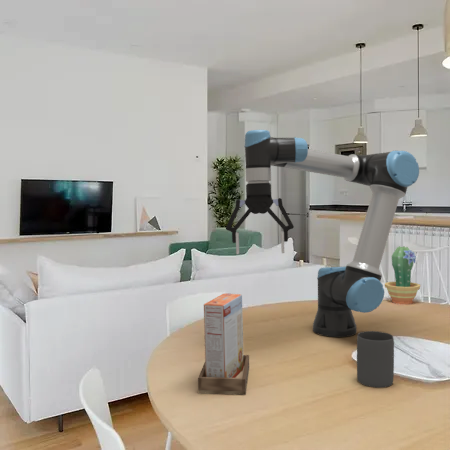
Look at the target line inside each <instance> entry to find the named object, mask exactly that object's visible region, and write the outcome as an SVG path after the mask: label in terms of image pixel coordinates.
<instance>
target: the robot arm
mask: <svg viewBox="0 0 450 450" xmlns="http://www.w3.org/2000/svg"><path fill="white" fill-rule="evenodd" d="M243 146H244V159H245V182H247V183H246V185H245V192H246V193H245V195H246V197H245V200H243V199H240V198H239V199H236V200H235V207H234V209H233V212H232V214H231V216H230V219H229V220H228V223H227V225H226V227H225V229H226V231H229V232H231V242H232V243H233V244H235V249H236V250H235V251H236V252H235V254H236V255H239V254H240V236H239V235H240V234H239V231H237V230H238V229H239V228H240V227H241V225H242V224H243V223H244V222H245V220H246V219H247V218H248V217H249V215H250V214H253V215H255V214H262V215H264V214H267V213H268V214H269V215H270V216H271V218H272V219H274V221H275V222H276V223H277V225H278V226H279V227H281V229H282V230H280V238H281V239H280V243H281V245H280V246H281V248H280V249H281V254H285V242H288V240H289V236H288V235H289V233H288V231H290V230H292V229H295V228H294V227H295V226H294V224H293V222H292V221H291V219H290V216H289V214H288V213H287V211H286V209H285V207H284V205H283V198H281V197H279V198H274V199H273V198H272V183H271V181H272V174H271V173H272V172H271V169H272V168H271V167H279V168H286V169H292V170H296V171H297V170H298V171H303V172H308V173H314V174H315V173H316V174H321V175H326V176H327V175H328V176H333V177H339V178H343V179H344V180H345V181H347V182H350V183H354V184H360V185H363V186H368V187H369V188H370V191H371V192H372V193H371V198H370V201H369V205H368V208H367V210H366V213H365V218H364V222H363V225H362V229H361V232H360V235H359V238H358V242H357V245H356V249H355V251H354V256H353V259H352V261H351V262H350V263H348V264H346V266H345V265H344V266H330V267H329V266H328V267H327V266H325V267H321V268H319V269H318V270H317V277H316V278H317V311H316V314H315V317H314V320H313V322H312V332H314V333H315V334H317V335H319V336H325V337H329V338H330V337H333V338H344V337H351V336H353V335H356V334H357V323H356V320H355V317H354V313H353V311H354V312H358V313H363V314H364V313H370V312H371V313H372V312H373V311H374V310H376V309H377V308H378V307H380V305H381V304H382V302H383V300H384V298H385V297H384V296H385V289H384V285H383V283H382V282H381V280H382V277H383V274H382V273H381V270H380V266H381V263H382V259H383V255H384V252H385V248H386V246H387V242H388V238H389V236H390V235H389V234H390V231H391V229H392V224H393V222H394V218H395V213H396V211H397V207H398V204H399V201H400V199H402V198H403V197H406V193H407V189H408V188H409V187H410V186H413V184H415V183H416V182H417V180H418V178H419V176H420V175H419V174H420V168H419V163H418V162H417V159H416V157H415V155H413V154H412V153H411V152H409V151H406V150H392V151H388V152H387V151H386V152H381V153H380V152H379V153H372V154H355V153H353V154H352V153H351V154H349V155H344V154H337V153H332V152H327V151H322V150H316V149H312V148H309V146H308V142H307V141H306V140H305V138H302V137H296V136H294V137H273V136H271V133H270V131H269V130H267V129H251V130H248V131H246V132H245V134H244V145H243ZM273 204H275V205H276V206H277V207H278V208H279V210H280V212H281V214H282V216H283V218H284V219H285V221H286V224H287V225H286V224H285V223H284V222H283V221H282V219H280V218H279V217H278V216H277V215H276V213H275V212H274V211H273V210H272V208H271V207H272V206H273ZM243 205H245V206H246V207H247V210H246V212H244V213H243V214H242V216H241V217H240V219H239V220H238V222H236V224H235V225H234V226H232V225H233V223H234V221H235V220H236V217H237V215H238V212H239V211H240V208H242V207H243Z"/></svg>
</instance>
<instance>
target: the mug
mask: <svg viewBox="0 0 450 450" xmlns="http://www.w3.org/2000/svg"><path fill="white" fill-rule="evenodd" d="M394 339H395V338H394V335H392V334H391V333H388V332H384V331H379V330H378V331H376V330H375V331H374V330H372V331H371V330H370V331H367V330H365V331H360V332H358V334H357V338H356V379H357V382H358V383H360V385H361V384H362V385H363V386H366V387H369V388H370V387H371V388H380V389H381V388H387V387H390V386H392V385H393V383H394V375H395V373H394V372H395V366H394V365H395V360H394V359H395V340H394Z"/></svg>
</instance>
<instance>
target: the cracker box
mask: <svg viewBox="0 0 450 450" xmlns="http://www.w3.org/2000/svg"><path fill="white" fill-rule="evenodd" d="M243 323H244V322H243V295H242V294H239V293H237V294H236V293H226V292H225V293H222V294H221V295H219V296H217V297H215V298H213V299H211V300H209V301H207V302H206V303H204V304H203V324H204V325H203V326H204V327H203V328H204V356H205V357H204V359H205V360H204V363H205V366H206V377H222V378H235V377H236V376H237V375H238V374H239V373H240V372H241V371H242V370H243V368H244V365H243V355H244V329H243V327H244V325H243Z"/></svg>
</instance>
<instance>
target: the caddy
mask: <svg viewBox="0 0 450 450" xmlns="http://www.w3.org/2000/svg"><path fill="white" fill-rule="evenodd" d="M243 365H244V368H243V370H242V371H241V372H240V373H239V374H238V375H237V376H236V377H235V378H222V377H206V366H205V362H203V365H202V367H201V370H200V373H199V375H198V377H197V387H198V389H197V392H198V394H207V395H208V394H209V395H210V394H213V395H246V393H247V387H248V381H249V373H250V355H249V354H243Z"/></svg>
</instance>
